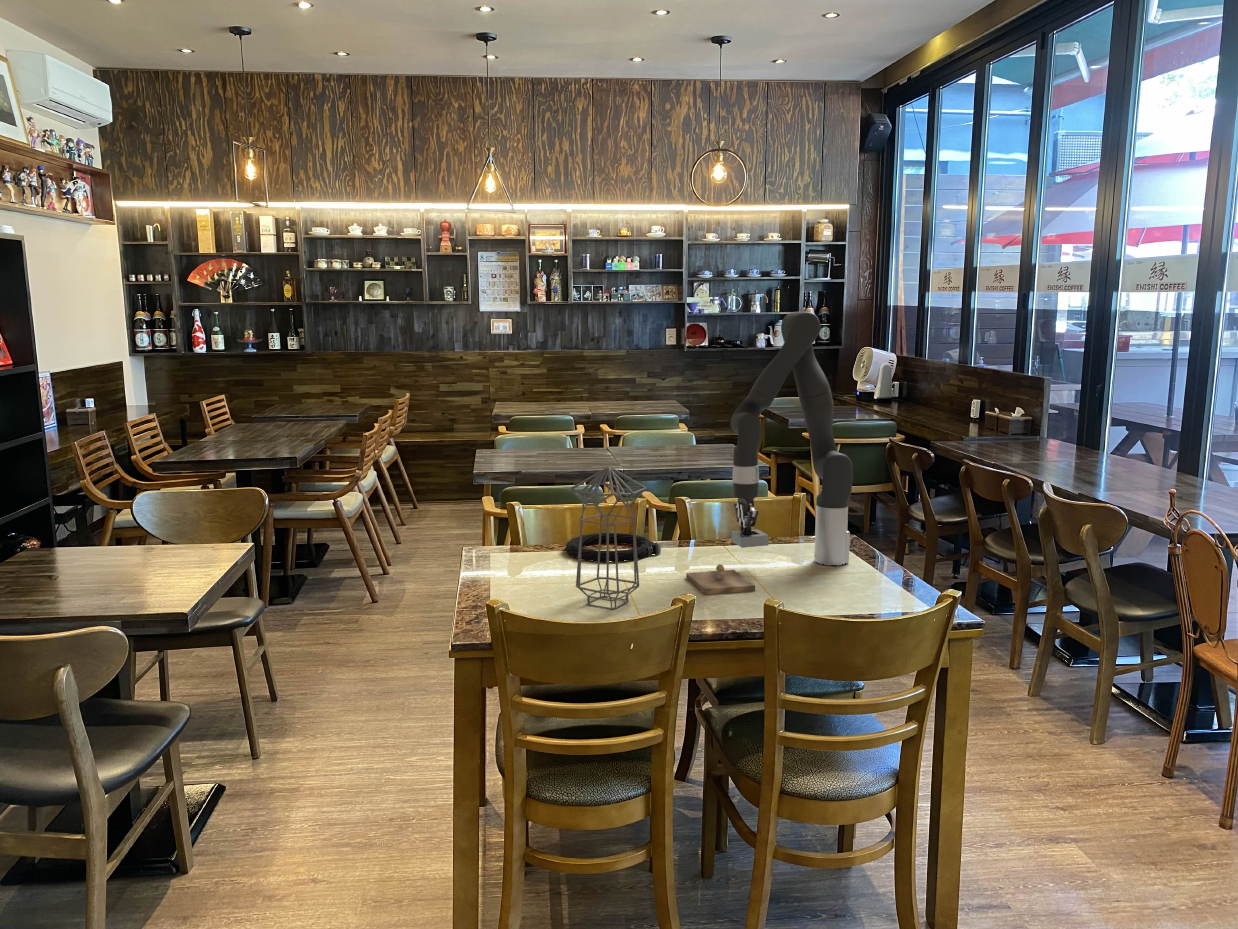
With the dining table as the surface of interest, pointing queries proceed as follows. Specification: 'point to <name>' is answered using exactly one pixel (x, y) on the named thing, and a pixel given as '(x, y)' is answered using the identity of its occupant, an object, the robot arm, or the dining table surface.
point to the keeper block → (720, 581)
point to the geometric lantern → (592, 495)
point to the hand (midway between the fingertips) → (745, 538)
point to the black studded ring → (588, 554)
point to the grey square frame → (750, 538)
